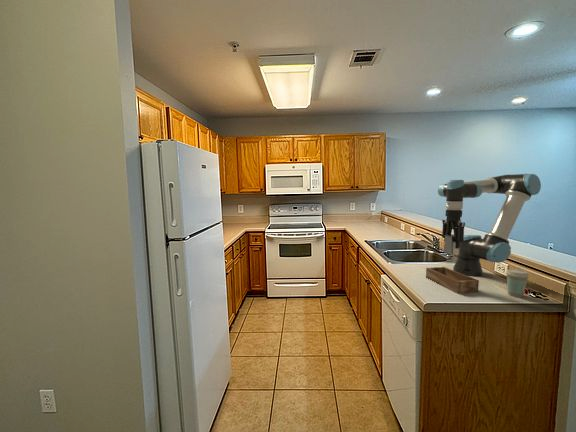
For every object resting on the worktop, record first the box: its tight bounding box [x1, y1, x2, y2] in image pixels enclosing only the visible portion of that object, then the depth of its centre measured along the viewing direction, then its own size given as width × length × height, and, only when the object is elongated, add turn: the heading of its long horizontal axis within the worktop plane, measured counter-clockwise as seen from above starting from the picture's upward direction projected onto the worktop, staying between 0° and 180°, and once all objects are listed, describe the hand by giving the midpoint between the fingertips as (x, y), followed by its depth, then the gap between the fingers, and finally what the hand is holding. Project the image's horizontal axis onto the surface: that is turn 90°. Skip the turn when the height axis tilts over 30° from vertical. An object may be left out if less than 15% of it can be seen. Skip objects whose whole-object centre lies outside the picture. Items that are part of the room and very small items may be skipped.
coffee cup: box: [505, 268, 530, 298], centre depth 135 cm, size 8×8×12 cm
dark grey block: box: [443, 233, 460, 256], centre depth 149 cm, size 5×5×10 cm
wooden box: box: [425, 266, 480, 295], centre depth 151 cm, size 11×24×6 cm, turn 10°
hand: (451, 252), depth 150 cm, fingers closed on dark grey block, 5 cm apart
